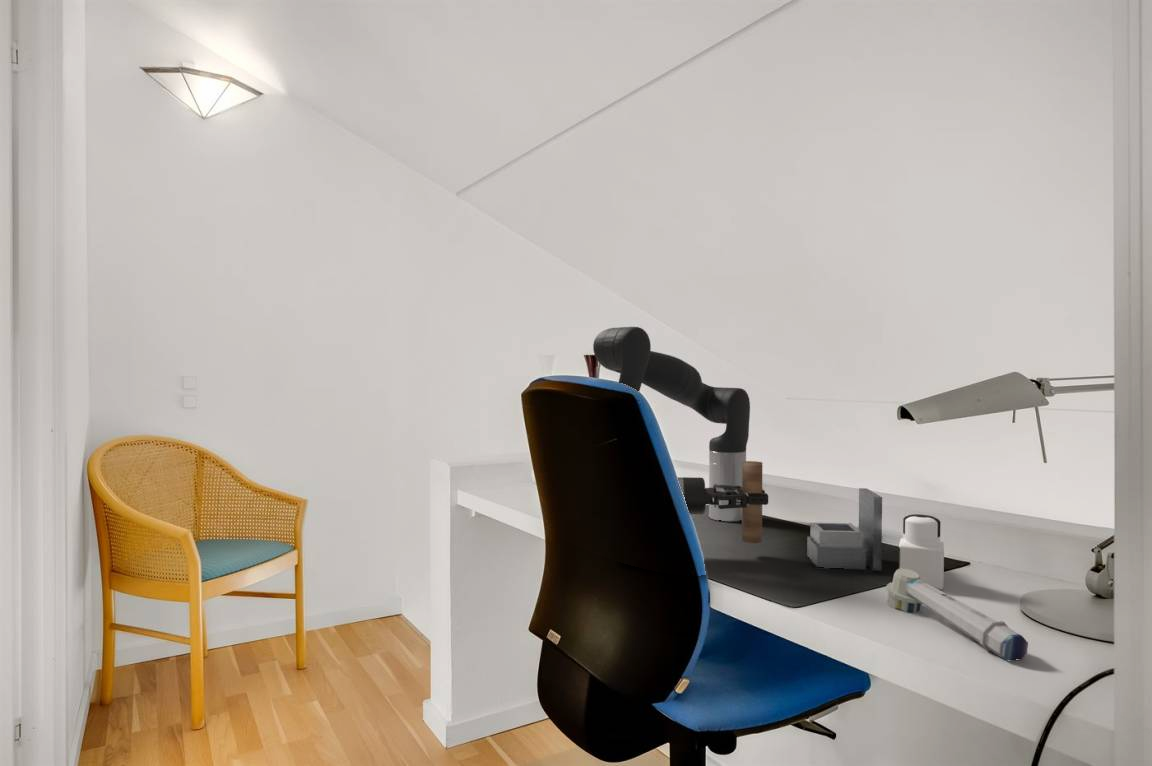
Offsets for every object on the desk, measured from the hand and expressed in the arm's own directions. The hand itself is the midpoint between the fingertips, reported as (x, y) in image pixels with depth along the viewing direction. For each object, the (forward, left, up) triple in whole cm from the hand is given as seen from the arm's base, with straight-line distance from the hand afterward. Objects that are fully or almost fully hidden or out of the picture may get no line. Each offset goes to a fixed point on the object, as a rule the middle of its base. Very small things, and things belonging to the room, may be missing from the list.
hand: (765, 496), depth 148 cm
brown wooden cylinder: (0, -3, -9) cm, 9 cm away
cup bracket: (+3, +14, -12) cm, 19 cm away
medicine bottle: (+15, +25, -13) cm, 32 cm away
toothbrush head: (+38, +21, -13) cm, 45 cm away
